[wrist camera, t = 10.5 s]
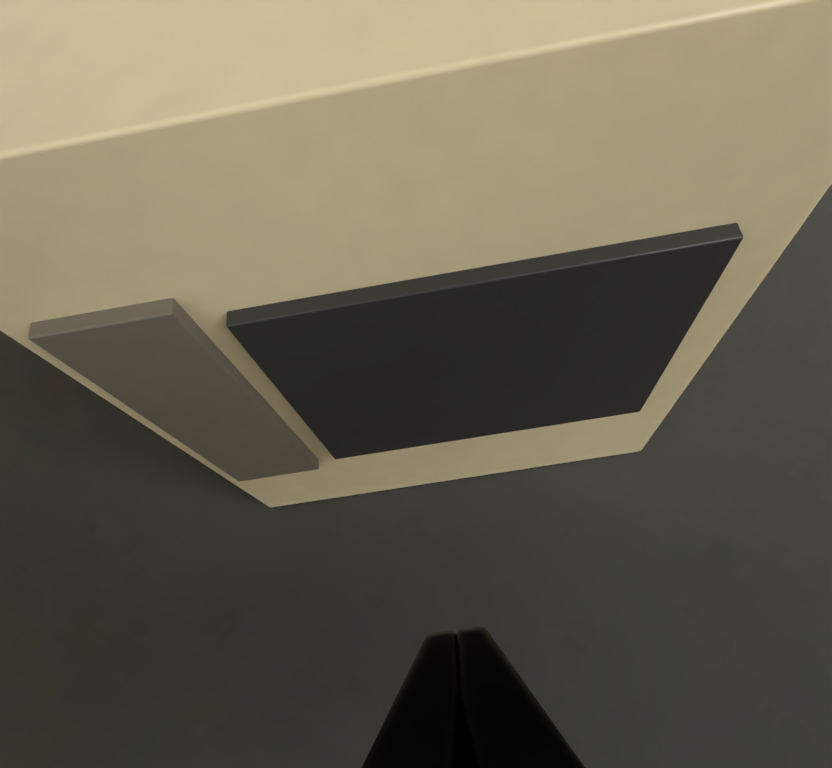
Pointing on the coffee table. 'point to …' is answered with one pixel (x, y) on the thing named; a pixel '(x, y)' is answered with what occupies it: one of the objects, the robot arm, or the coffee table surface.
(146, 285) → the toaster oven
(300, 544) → the coffee table surface
